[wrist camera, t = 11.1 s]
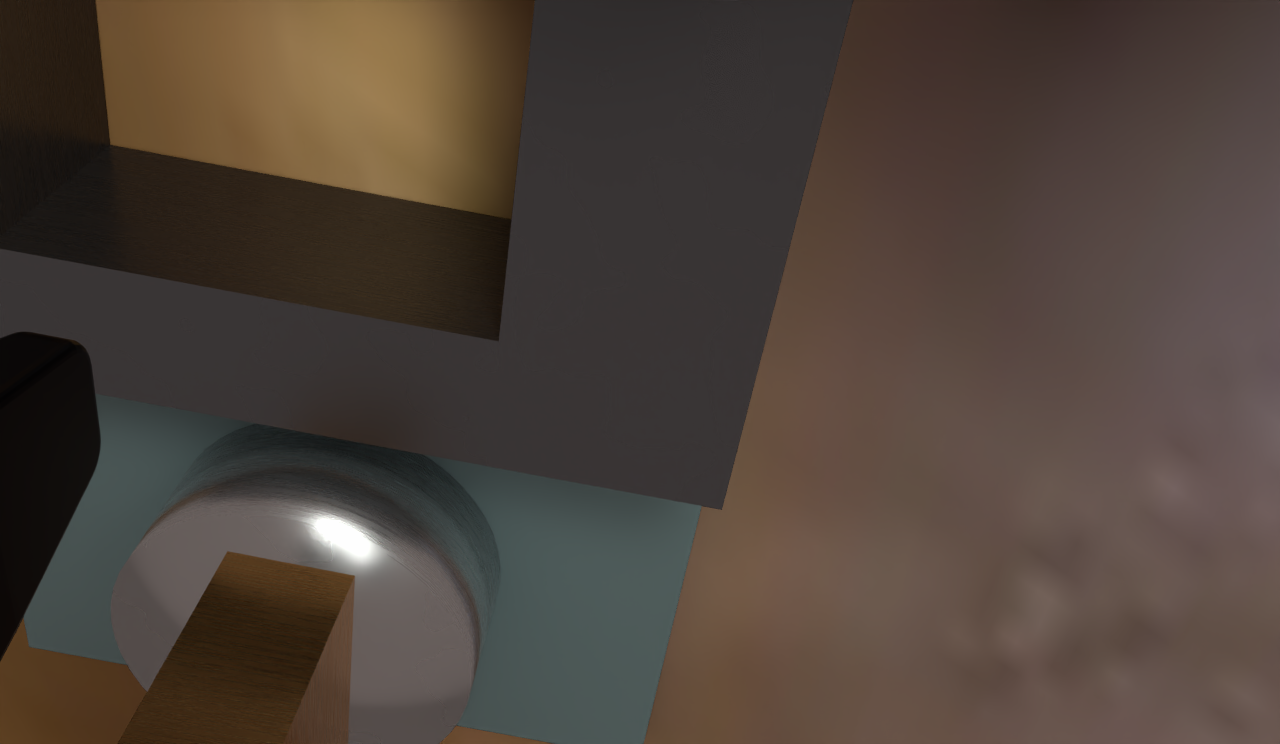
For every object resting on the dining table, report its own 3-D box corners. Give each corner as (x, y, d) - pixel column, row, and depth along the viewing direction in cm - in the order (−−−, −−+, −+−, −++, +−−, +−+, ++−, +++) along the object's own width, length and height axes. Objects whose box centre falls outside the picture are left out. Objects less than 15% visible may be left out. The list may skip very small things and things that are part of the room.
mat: (720, 417, 24) (718, 435, 23) (642, 739, 29) (639, 759, 29) (-23, 279, 23) (-40, 294, 23) (42, 628, 29) (29, 646, 29)
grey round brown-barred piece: (517, 455, 24) (399, 851, 16) (485, 691, 28) (377, 1096, 20) (165, 387, 24) (-115, 754, 16) (183, 634, 28) (-35, 1019, 20)
